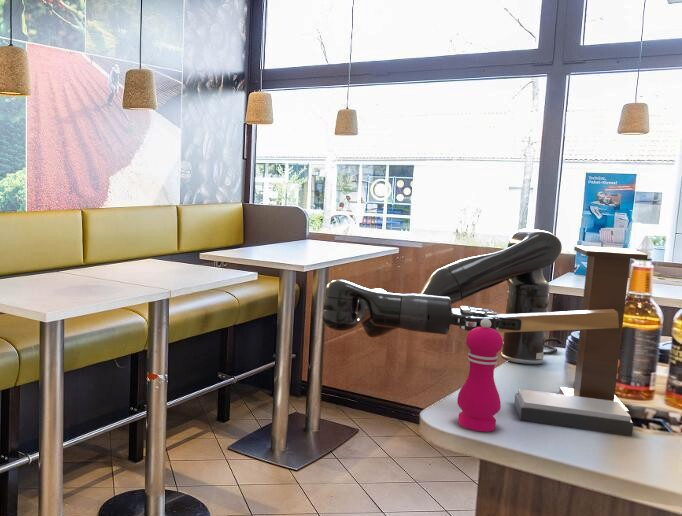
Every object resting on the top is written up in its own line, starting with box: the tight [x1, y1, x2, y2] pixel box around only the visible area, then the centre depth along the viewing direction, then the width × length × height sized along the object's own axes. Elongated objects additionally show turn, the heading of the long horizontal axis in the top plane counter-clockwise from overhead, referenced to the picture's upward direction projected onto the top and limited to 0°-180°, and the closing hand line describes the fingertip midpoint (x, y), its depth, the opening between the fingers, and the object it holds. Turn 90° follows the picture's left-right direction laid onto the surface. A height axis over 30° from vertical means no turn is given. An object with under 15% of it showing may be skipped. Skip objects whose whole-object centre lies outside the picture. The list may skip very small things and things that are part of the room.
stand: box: [558, 245, 649, 415], centre depth 140 cm, size 12×10×32 cm
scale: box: [513, 388, 634, 437], centre depth 133 cm, size 10×18×4 cm, turn 69°
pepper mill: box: [456, 319, 503, 433], centre depth 127 cm, size 7×7×20 cm
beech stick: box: [491, 309, 619, 334], centre depth 133 cm, size 3×22×3 cm, turn 69°
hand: (519, 323), depth 135 cm, fingers closed on beech stick, 3 cm apart
